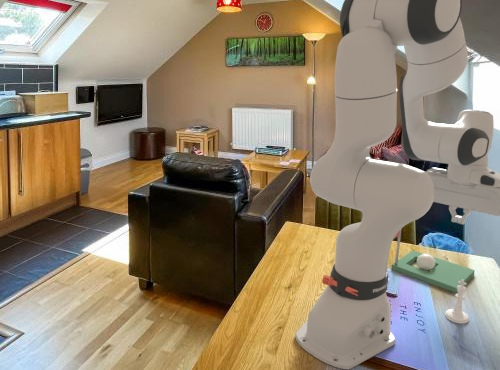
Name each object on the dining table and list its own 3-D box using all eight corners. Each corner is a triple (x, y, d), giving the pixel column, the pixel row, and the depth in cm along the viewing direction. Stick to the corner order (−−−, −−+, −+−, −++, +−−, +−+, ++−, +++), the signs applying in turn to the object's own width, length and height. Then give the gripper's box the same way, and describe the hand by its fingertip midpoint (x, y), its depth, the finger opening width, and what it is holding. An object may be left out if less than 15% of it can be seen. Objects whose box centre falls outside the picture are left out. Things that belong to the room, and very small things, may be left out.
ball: (411, 260, 112) (417, 273, 114) (428, 262, 108) (433, 275, 110) (418, 249, 115) (423, 262, 116) (434, 251, 111) (440, 264, 112)
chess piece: (447, 308, 94) (453, 272, 91) (470, 316, 91) (477, 278, 88) (442, 318, 90) (448, 280, 88) (466, 326, 88) (472, 287, 85)
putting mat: (451, 297, 99) (459, 249, 95) (386, 272, 112) (391, 229, 108) (473, 274, 110) (481, 231, 106) (412, 254, 123) (417, 215, 119)
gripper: (421, 168, 105) (414, 215, 109) (507, 182, 91) (496, 236, 94) (430, 165, 109) (424, 210, 113) (514, 178, 95) (504, 230, 99)
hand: (458, 222), depth 103 cm, fingers closed
